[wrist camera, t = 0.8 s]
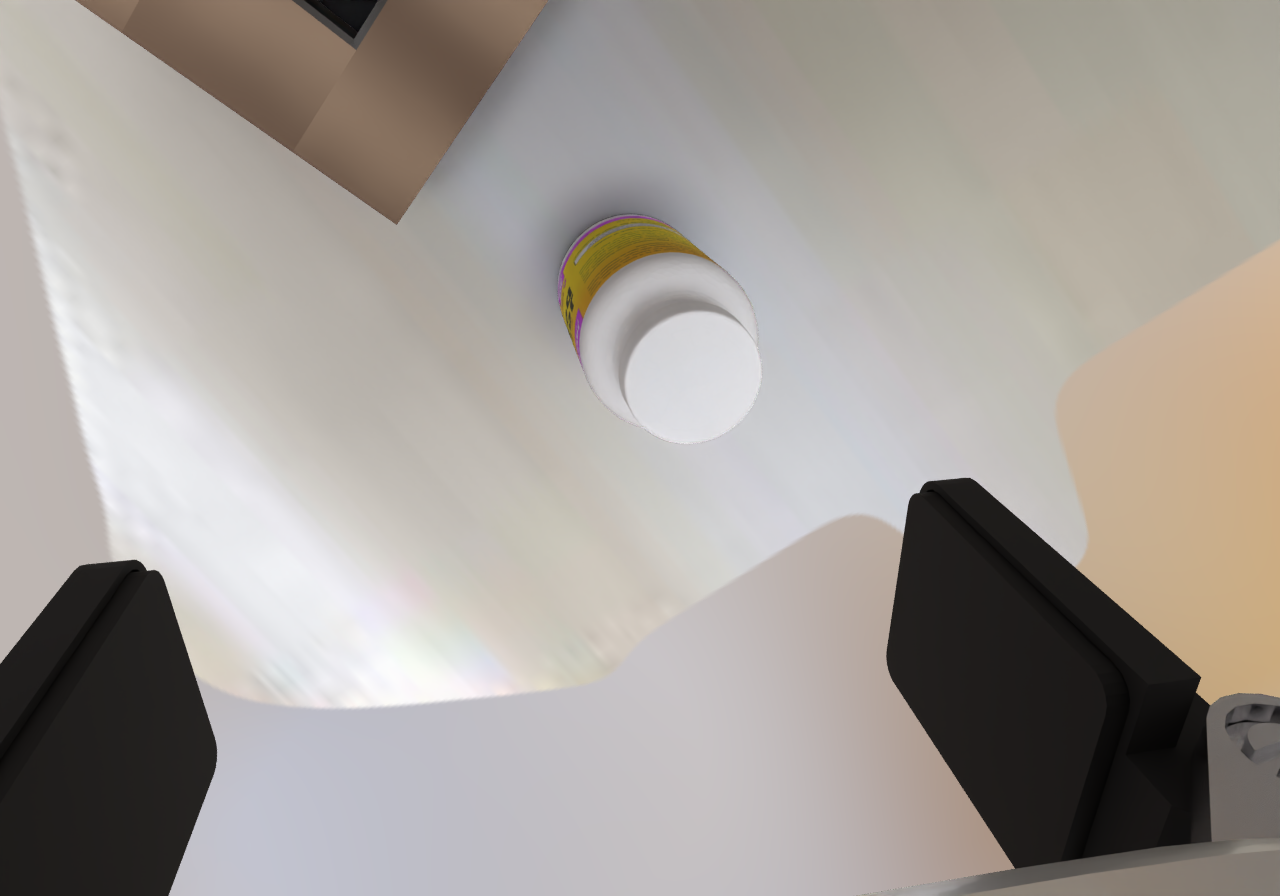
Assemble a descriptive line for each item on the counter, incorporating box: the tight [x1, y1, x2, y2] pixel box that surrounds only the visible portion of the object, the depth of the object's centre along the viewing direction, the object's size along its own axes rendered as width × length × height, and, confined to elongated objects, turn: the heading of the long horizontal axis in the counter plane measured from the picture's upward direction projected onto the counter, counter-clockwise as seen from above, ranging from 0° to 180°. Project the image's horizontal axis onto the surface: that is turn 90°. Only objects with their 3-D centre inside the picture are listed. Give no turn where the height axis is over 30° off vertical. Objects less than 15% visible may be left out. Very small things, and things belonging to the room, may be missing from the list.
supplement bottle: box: [557, 214, 762, 444], centre depth 32 cm, size 7×7×13 cm
